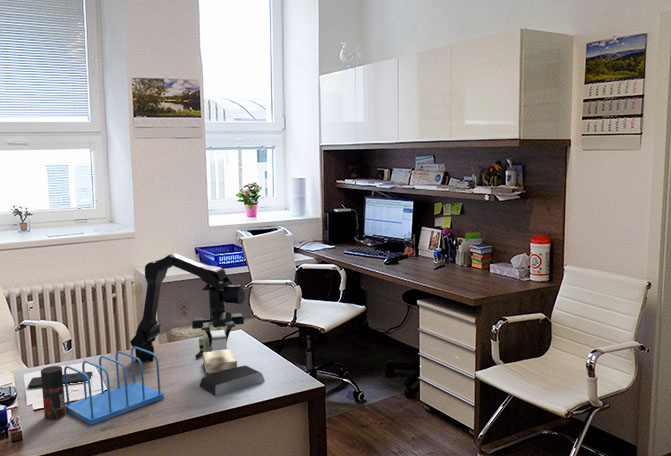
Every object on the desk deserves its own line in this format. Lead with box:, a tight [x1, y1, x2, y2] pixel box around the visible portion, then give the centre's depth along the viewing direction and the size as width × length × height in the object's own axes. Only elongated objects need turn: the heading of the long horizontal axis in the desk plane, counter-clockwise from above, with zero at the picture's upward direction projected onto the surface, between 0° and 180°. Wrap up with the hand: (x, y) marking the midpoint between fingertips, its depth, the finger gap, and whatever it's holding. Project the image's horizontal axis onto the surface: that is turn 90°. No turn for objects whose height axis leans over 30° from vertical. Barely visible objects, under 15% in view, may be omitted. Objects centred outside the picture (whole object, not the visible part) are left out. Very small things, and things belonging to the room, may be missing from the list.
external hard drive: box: [199, 365, 266, 398], centre depth 212 cm, size 13×19×4 cm
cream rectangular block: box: [202, 348, 238, 375], centre depth 229 cm, size 11×14×4 cm
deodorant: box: [40, 365, 67, 421], centre depth 189 cm, size 6×6×15 cm
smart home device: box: [27, 371, 93, 389], centre depth 218 cm, size 8×2×20 cm
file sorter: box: [63, 346, 165, 426], centre depth 196 cm, size 25×17×15 cm
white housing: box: [210, 329, 228, 351], centre depth 228 cm, size 5×8×5 cm, turn 17°
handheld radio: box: [194, 326, 222, 359], centre depth 251 cm, size 7×3×25 cm
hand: (218, 343), depth 228 cm, fingers closed on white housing, 5 cm apart
